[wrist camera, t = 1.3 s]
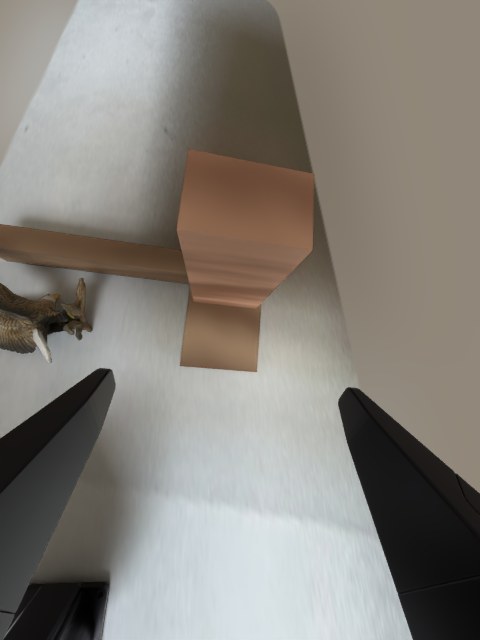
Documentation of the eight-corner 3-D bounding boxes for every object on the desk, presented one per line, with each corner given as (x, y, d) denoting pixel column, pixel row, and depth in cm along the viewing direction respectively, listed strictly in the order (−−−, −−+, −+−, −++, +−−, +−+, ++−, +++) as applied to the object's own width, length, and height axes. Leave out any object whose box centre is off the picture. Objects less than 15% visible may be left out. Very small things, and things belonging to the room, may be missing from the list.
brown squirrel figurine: (102, 267, 20) (-26, 242, 18) (65, 290, 14) (-143, 257, 11) (99, 339, 23) (-12, 328, 20) (67, 386, 17) (-100, 377, 14)
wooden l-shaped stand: (254, 371, 22) (320, 388, 9) (-19, 349, 19) (-494, 330, 6) (261, 274, 24) (323, 176, 11) (12, 240, 21) (-299, 51, 8)
